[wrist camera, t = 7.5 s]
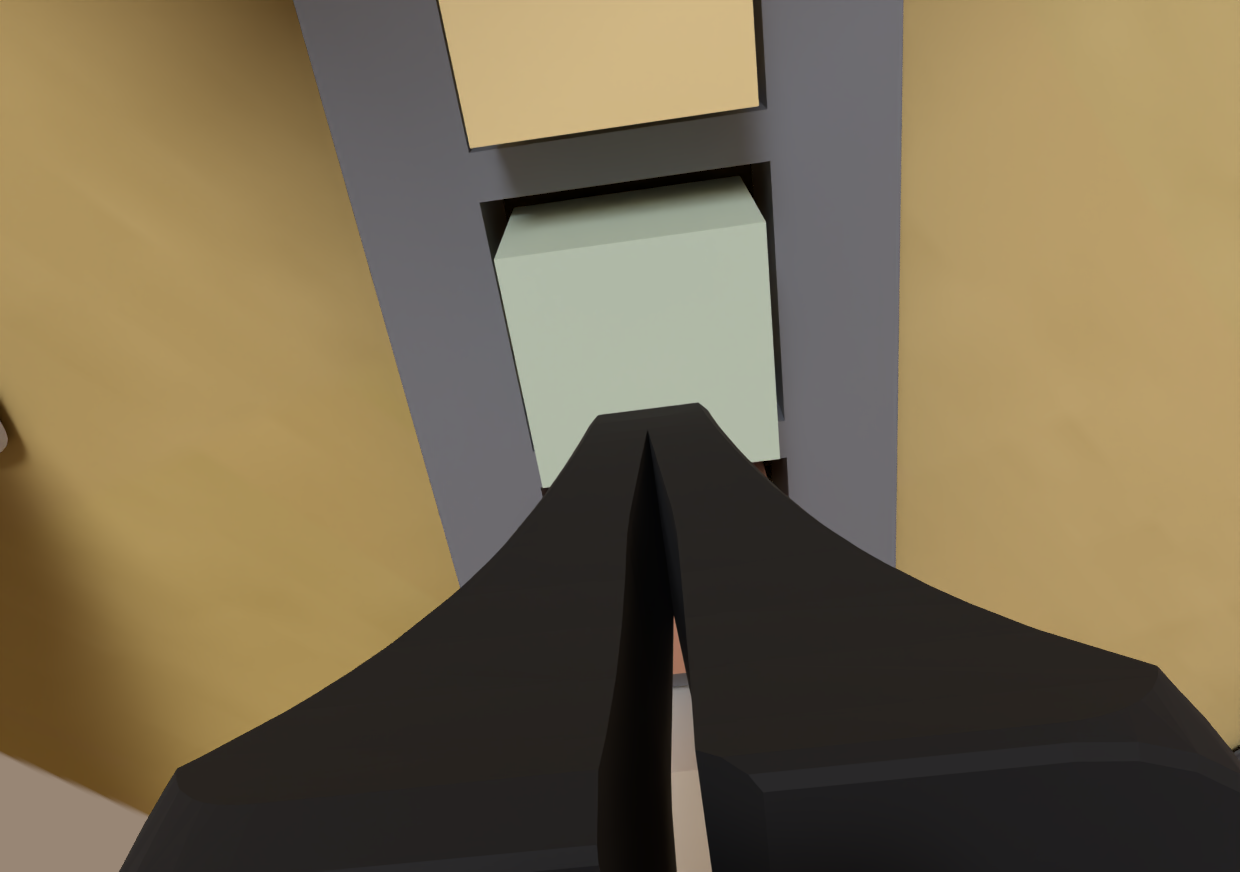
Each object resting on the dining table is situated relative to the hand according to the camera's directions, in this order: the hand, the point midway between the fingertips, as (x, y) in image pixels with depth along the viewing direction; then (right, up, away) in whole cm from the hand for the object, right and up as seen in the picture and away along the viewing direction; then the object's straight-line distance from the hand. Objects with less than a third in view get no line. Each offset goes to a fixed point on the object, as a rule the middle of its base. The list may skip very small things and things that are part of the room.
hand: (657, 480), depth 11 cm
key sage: (0, +3, +6) cm, 6 cm away
